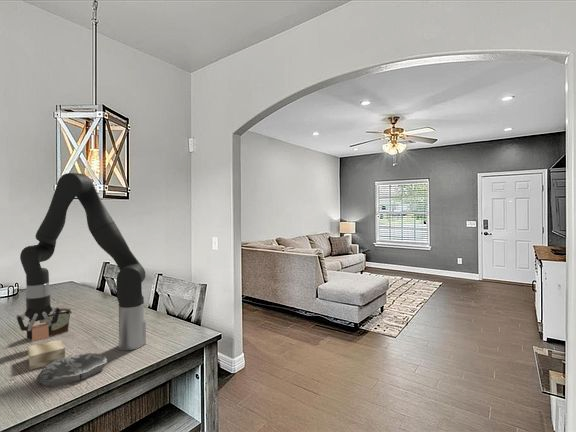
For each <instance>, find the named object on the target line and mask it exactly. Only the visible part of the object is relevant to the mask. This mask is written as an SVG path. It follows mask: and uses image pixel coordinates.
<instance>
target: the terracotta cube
mask: <svg viewBox="0 0 576 432" xmlns="http://www.w3.org/2000/svg"><path fill="white" fill-rule="evenodd" d="M31 330H32V340H31V341H32V343H35V342H39V341H41V340H42V341H43V340H46V339H49V338H50V336H49V327H48V325H47V324H46V323H41V324H40V323H37V324H34V325H33V327H32V329H31Z"/></svg>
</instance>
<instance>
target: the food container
mask: <svg viewBox="0 0 576 432" xmlns="http://www.w3.org/2000/svg"><path fill="white" fill-rule="evenodd" d="M59 309H60V312H59V316H58V320H57V323H54V324H52V326H51V328H52V332H51V333H50V335H49V337H53V336H57V335H60V334H64V333H68V332H69V328H70V316H71V315H72V314H73V313H72V309H71V308H67V307H65V308H63V307H61V308H60V307H59ZM53 315H54V313H53V311H51V312H50V314H49V315H48V317H49V319H50V321H51V320H52V319H53ZM41 323H46V321H45V320H39V324H41ZM46 324H47V323H46Z"/></svg>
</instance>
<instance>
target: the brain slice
mask: <svg viewBox="0 0 576 432" xmlns="http://www.w3.org/2000/svg"><path fill="white" fill-rule="evenodd" d="M107 364H108V358H107V357H106V356H105V355H104V354H103V353H96V352H95V353H91V352H87V353H83V352H81V353H75V354H71V355H68V356H67V357H65V358H61V359H58V360H55V361H53V362H52V363H50V364H48V365H46V366H44V368H42V370H41V371H40V373H38V374H37V380H38V381H40V384H41V385H44V386H45V387H48V388H50V387H51V388H55V387H59V386H62V385H67V384H73V383H75V382H78V381H82V380H85V379H87V378H89V377H91V376H93V375H95V374H97V373H100V372H101V371H102V370H103V369H104V368H105V367H106V365H107Z"/></svg>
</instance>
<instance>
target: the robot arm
mask: <svg viewBox="0 0 576 432" xmlns="http://www.w3.org/2000/svg"><path fill="white" fill-rule="evenodd" d="M75 198H76V199H77V200H78V201H79V202H80V205H81V206H82V208H83V209H84V212H85V217H86V224H87V227H88V230H89V232H90V234H91V235H92V237H93V239H94V241H95V242H96V244H97V245H98V246H99V247H100V248H101V249H102V250H103V251H104V252H105V253H106V254H107V255H109V256H110V257H111V258H112V259H113V261H114V262H115V264H116V265H117V268H118V269H119V271H118V273H117V275H116V298H117V299H116V300H117V301H118V349H119V350H121V351H133V350H137V349H139V348H141V347H143V346H144V345H146V343H147V339H146V338H147V330H146V329H147V322H146V320H144V319H145V318H144V317H145V309H144V307H145V305H144V303H145V298H144V295H143V292H142V289H143V288H142V285H143V282H144V280H145V279H146V271H145V268H144V267H143V265H142V264H141V262H139V260H138V259H137V257H136V256H135V254H134V253H133V252H132V251H131V249H130V247H129V244H128V243H127V241H126V240H125V238H124V237H123V234H122V233H121V231H120V229H119V227H118V226H117V224H116V223H115V221H114V220H113V218H112V216H111V214H110V213H109V211H108V210H107V208H106V206H105V204H104V203H103V202H102V199H101V197H100V195H99V193H98V191H97V189H96V187H95V185H94V182H93V181H92V179H91V178H90V177H89V176H87V175H86V174H84V173H78V172H77V173H76V172H68V173H64V174H63V175H61V176H60V177H59V179H58V181H57V184H56V187H55V189H54V193H53V195H52V199H51V202H50V205H49V207H48V210H47V212H46V214H45V216H44V218H43V220H42V222H41V224H40V225H39V227H38V229H37V231H36V233H35V236H34V237H35V239H36V241H38V243H37V244H34V245H33V244H32V245H29V246H25V247H24V248H23V249H22V250H21V252H20V258H19V259H20V262H21V266H22V269H23V271H24V273H25V277H26V279H25V281H26V282H25V284H26V286H25V308H26V310H25V311H24V313H23V314H17V315H16V316H15V318H16V320H17V323H18V325H19V329H20V330H21V331H23V332H24V331H26V339H28V340H31V341H32V330H31V329H32V327H33V325H35V322H38V321H39V322H40V320H45V321H46V323H47V325H48V327H49V335H50V333H51V332H52V328H51V326H52V324H54V323H57V320H58V316H59V312H60V307H57V306H56V307H53V306H51V287H50V286H51V285H50V274H49V273H50V272H49V270H48V269H47V268H45V267H42V265H41V263H42V262H46V261H49V259H51V258H52V256H53V255H54V253H55V249H56V246H57V240H58V238H59V237H60V234H61V233H62V232H63V229H64V227H65V223H66V221H67V220H66V219H67V211H68V209H69V207H70V205H71V204H72V202H74V201H73V200H74V199H75ZM51 311H53V313H54V315H53V319H52V320H51V321H50V319H49V317H48V315H49V314H50V312H51ZM25 317H26V318H28V322H27V325H26V326H25V323H24V320H25Z"/></svg>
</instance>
